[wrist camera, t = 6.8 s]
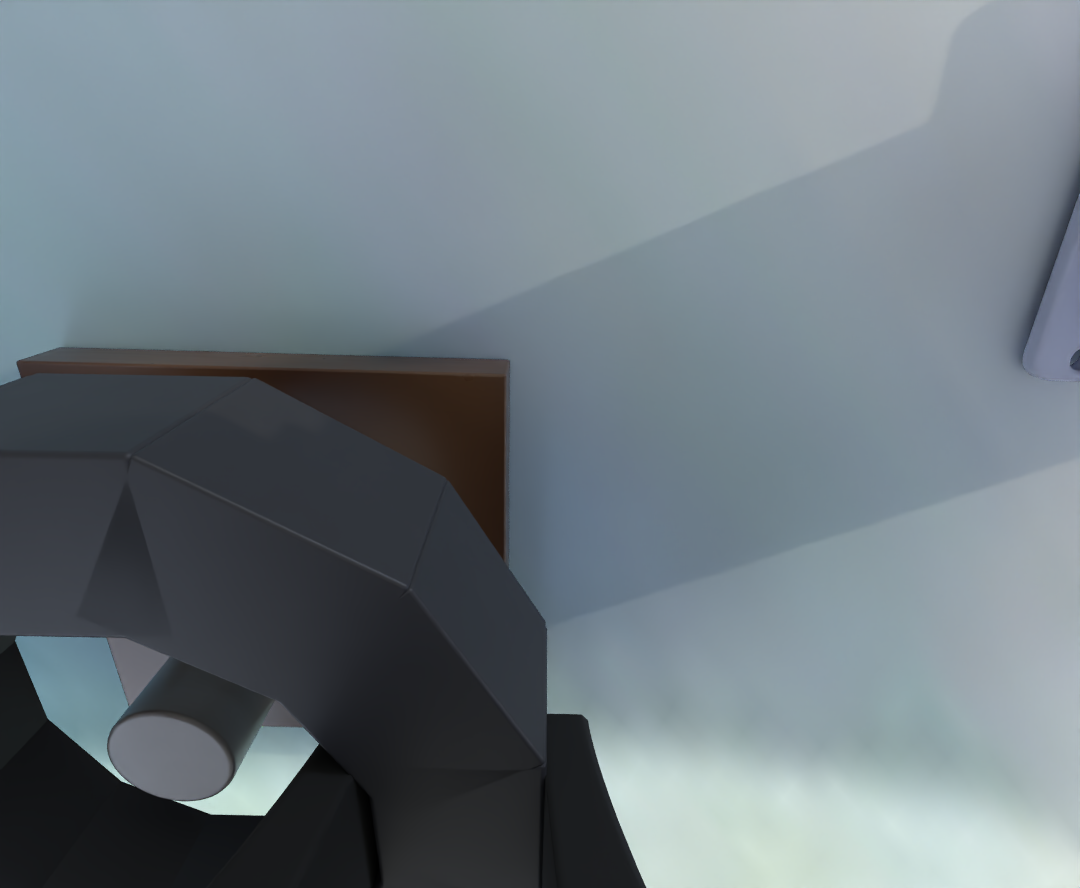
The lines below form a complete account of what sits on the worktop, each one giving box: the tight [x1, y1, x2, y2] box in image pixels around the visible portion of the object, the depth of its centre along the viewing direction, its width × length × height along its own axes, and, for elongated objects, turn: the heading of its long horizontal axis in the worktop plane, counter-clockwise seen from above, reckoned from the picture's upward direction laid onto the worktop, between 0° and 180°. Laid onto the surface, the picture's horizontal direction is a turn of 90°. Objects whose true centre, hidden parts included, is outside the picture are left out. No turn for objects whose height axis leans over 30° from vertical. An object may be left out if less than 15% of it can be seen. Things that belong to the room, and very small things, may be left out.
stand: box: [17, 347, 510, 801], centre depth 12 cm, size 10×10×6 cm
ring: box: [0, 373, 547, 888], centre depth 10 cm, size 12×12×3 cm
